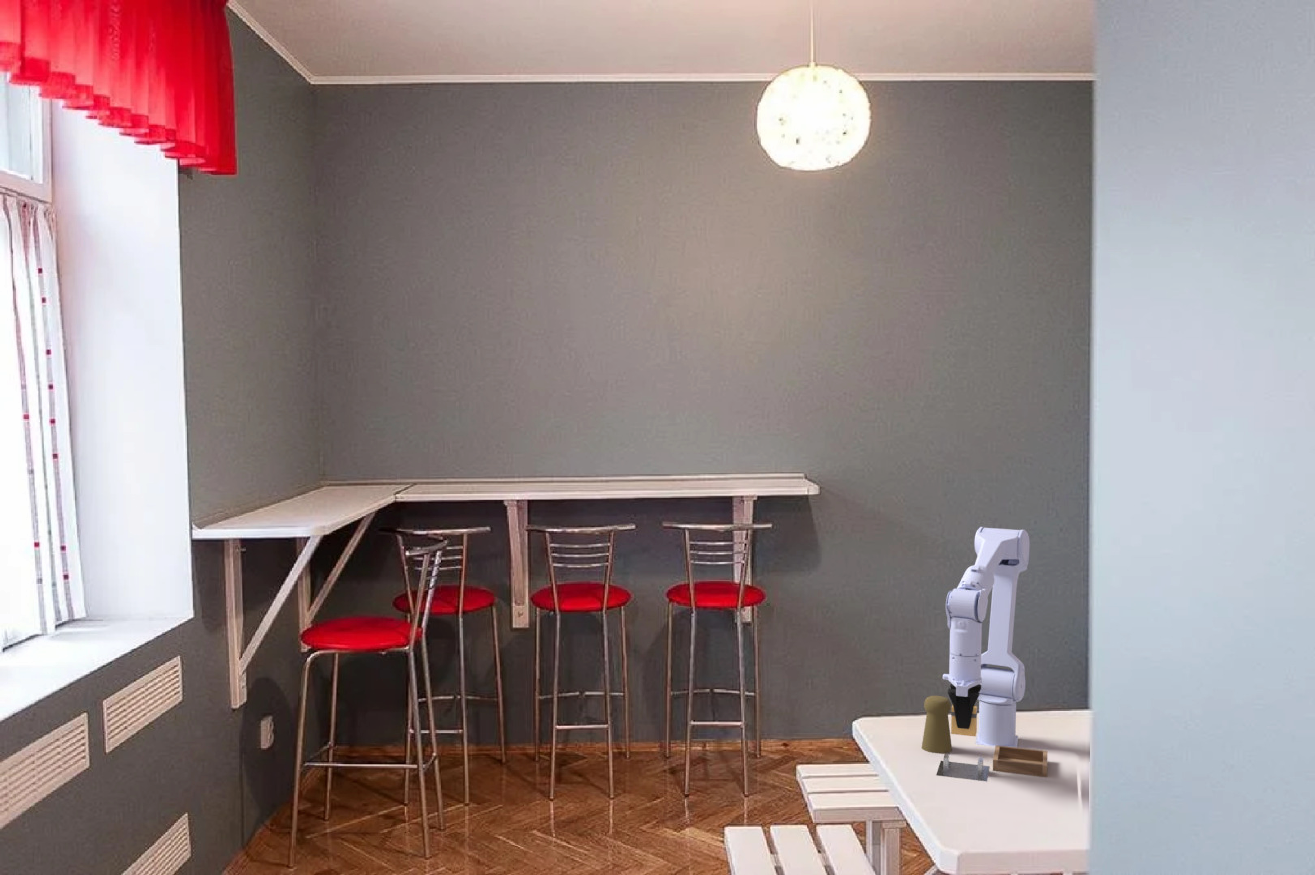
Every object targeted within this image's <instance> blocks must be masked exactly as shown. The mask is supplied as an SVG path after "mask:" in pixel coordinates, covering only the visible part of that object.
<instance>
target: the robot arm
mask: <svg viewBox="0 0 1315 875" xmlns="http://www.w3.org/2000/svg"><path fill="white" fill-rule="evenodd" d="M1029 536H1030V535H1029V534H1028V532H1027V530H1025V529H1010V528H996V527H994V528H993V527H985V526H980V527H979V528H978V529H977V530H976V532H975V536H974V551H975V553H976V556H977V557H976V559H975V563H974V565H971V566H969V567H968V568H967V567H966V570H965V571H964V573H963V576H962V577H961V580H960V582H959V583H958V585H957V587H956V588H953V589H952V590H949V591H948V593H947V596H946V599H945V600H946V601H945V614H946V618H947V628H948V629H949V660H948V661H949V662H948V663H949V665H948V666H949V668H948V669H949V670H948V672H949V673H943V674H942V680H945V681H948V682H950V686H949V687H950V688H948V689H947V695H948V697H949V700H950V702H951V703H952V704H951V705H953V707H954V712H955V718H956V724H957V727H958V728H963V729H969V727H970V724H971V719H972V713H973V708H974V706H976V705H975V704H976V702H977V700H978V702H979V703H978V705H979V706H978V731H977V734H976V740H975V745H980V746H988V747H995V746H996V745H997V746H1007V747H1016V748H1018V744H1019V743H1018V742H1019V736H1018V735H1017V734H1016V727H1017V725H1016V724H1017V722H1016V721H1017V702H1018V703H1019V702H1021V700H1022V699H1023V698H1024V696H1025V693H1026V676H1025V675H1026V674H1025V672H1026V668H1025V665H1024V663H1023V662H1022V661H1021V660H1020V659H1019V658H1018V657H1017V656H1016V655H1015V654H1014V653H1013V640H1014V627H1015V626H1014V625H1015V614H1016V613H1015V612H1016V599H1017V589H1018V588H1017V587H1018V580H1019V577H1020V576H1019V575H1020V573H1022V572H1025V571H1027V570H1028V565H1029V561H1030V560H1029V558H1030V544H1031V543H1030V537H1029ZM991 591H992V593H991ZM990 593H991V605H990V616H989V627H988V628H989V630H988V641H987V642H988V644H987V651H985V652H983V653H982V639H983V638H982V636H983V635H982V633H983V629H982V628H983V627H982V626H983V621H984V620H985V618H986V616H987V610H988V609H987V608H988V604H989V600H988V599H989V598H988V597H989V595H990ZM988 665H993V666H988ZM994 666H1002V667H1007V668H1002V667H1001V668H1000V667H994ZM1008 668H1010V669H1008Z"/></svg>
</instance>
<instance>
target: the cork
mask: <svg viewBox="0 0 1315 875" xmlns="http://www.w3.org/2000/svg"><path fill="white" fill-rule="evenodd" d="M951 703H952V702H951V700H950V698H948V697H945V696H942V695H941V696H940V695H929V696H928V697H926V698H925V700H924V703H923V705H924V706H923V707H924V710H925V712H926V717H925V722H924V730H923V736H922V738H923V739H922V743H921V749H922V750H923V751H925V752H928V753H932V754H945V753H946V754H949V753H951V752H952V751H953V748H952V747H953V746H952V738H951V727H950V719H949V714H950V712H951V711H952V704H951Z"/></svg>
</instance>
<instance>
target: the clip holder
mask: <svg viewBox="0 0 1315 875" xmlns="http://www.w3.org/2000/svg"><path fill="white" fill-rule="evenodd" d="M989 770H990V766H989V765H984V757H978V760H977V764H973V763H965V762H957V761H950V754H949V753H944V755H943V759H942V760H940V763H939V765H938V769H937V772H936V774H935V776H937V777H938V776H939V777H945V778H946V777H947V778H955V779H964V780H971V781H978V782H979V781H980V782H988V777H989Z"/></svg>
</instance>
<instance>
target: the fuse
mask: <svg viewBox="0 0 1315 875" xmlns="http://www.w3.org/2000/svg"><path fill="white" fill-rule="evenodd" d="M950 712H951V713H950V715H951V717H950V719H951V723H950V735H959V736H968V737H977V734H978V728H977V727H978V721H977V720H978V705H974V708H973V713H972V719H971V724H970V727H969V729H963V728H958V727H957V724H956V718H955V712H954V707H953V704H951V710H950Z"/></svg>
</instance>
